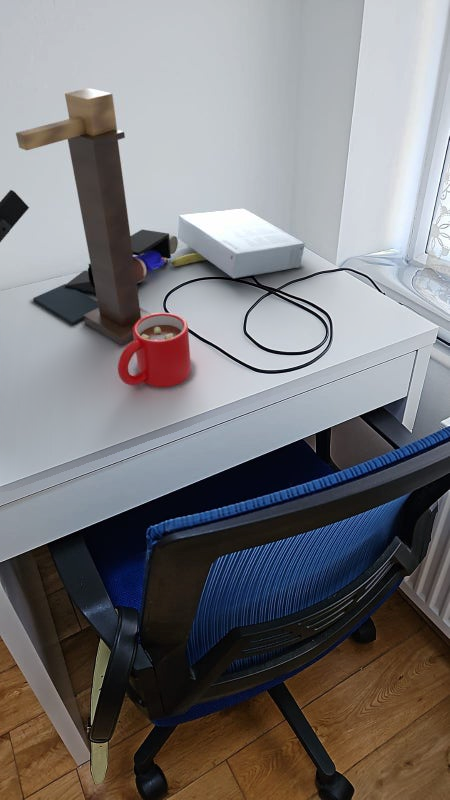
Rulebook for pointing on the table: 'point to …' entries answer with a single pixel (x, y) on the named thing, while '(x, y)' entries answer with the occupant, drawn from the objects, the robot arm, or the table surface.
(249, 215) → the skincare box
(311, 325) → the table surface
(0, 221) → the robot arm
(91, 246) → the stand
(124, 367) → the mug
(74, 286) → the black angular block
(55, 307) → the mat
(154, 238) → the figurine character
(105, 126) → the wooden toy mallet
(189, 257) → the banana
